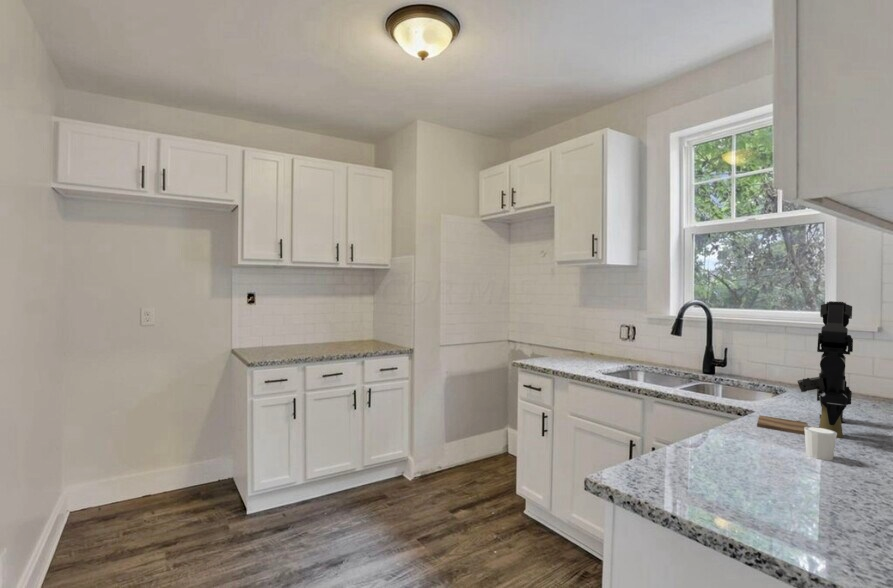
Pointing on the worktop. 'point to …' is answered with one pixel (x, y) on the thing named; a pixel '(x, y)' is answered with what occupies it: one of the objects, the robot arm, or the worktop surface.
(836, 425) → the cork
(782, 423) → the walnut coaster board
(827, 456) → the white faceted cup
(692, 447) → the worktop surface
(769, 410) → the worktop surface
